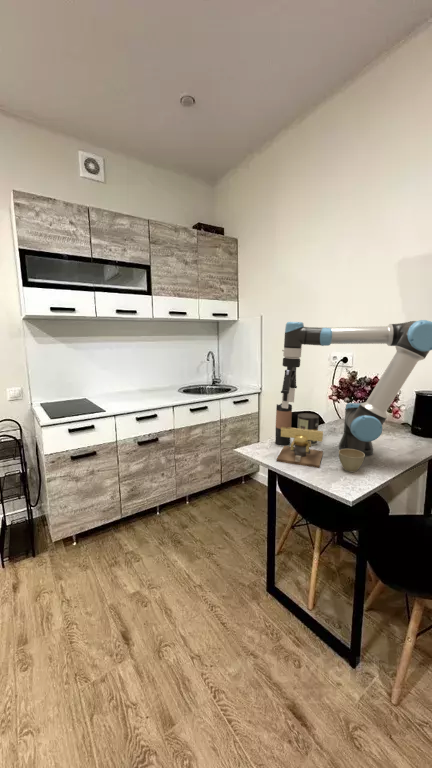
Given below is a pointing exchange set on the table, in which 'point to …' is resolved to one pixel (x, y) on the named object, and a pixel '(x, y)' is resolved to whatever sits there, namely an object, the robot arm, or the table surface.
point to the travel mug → (283, 423)
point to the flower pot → (351, 459)
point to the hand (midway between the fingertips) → (287, 405)
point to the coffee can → (308, 423)
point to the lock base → (304, 460)
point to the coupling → (301, 436)
